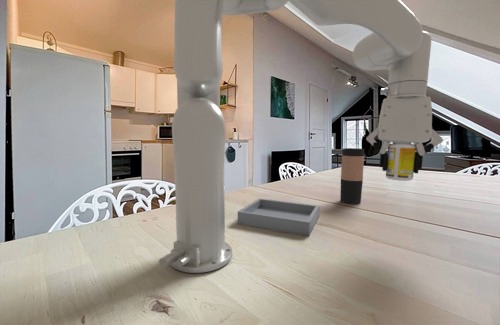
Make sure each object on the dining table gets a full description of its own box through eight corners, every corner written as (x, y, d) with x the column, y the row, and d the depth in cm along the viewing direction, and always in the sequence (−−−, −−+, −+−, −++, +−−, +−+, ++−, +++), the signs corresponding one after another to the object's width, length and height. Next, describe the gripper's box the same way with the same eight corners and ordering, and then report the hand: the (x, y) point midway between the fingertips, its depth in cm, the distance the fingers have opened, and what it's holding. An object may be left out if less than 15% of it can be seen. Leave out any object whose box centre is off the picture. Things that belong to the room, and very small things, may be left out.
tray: (309, 236, 61) (309, 222, 60) (237, 223, 69) (237, 211, 69) (319, 216, 75) (319, 205, 75) (259, 208, 84) (259, 198, 83)
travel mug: (335, 199, 95) (337, 148, 93) (351, 198, 98) (354, 148, 95) (348, 205, 88) (351, 149, 86) (366, 203, 90) (369, 149, 88)
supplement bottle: (416, 179, 57) (420, 135, 56) (407, 182, 54) (411, 135, 53) (391, 176, 62) (394, 135, 61) (381, 178, 58) (384, 135, 57)
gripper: (364, 91, 56) (358, 170, 58) (459, 86, 49) (449, 177, 51) (364, 96, 63) (359, 167, 65) (448, 93, 55) (439, 172, 57)
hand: (399, 170), depth 58 cm, fingers closed on supplement bottle, 5 cm apart
